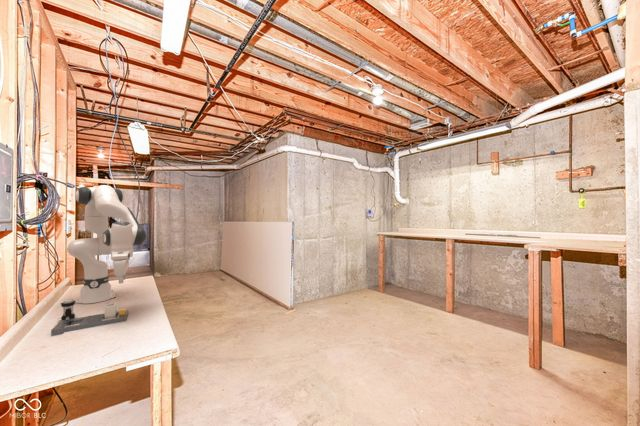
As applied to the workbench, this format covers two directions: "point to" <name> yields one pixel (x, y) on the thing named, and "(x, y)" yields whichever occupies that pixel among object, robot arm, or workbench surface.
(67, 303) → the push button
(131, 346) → the workbench surface
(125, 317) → the panel
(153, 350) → the workbench surface
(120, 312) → the plate
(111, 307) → the plug
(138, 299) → the workbench surface
